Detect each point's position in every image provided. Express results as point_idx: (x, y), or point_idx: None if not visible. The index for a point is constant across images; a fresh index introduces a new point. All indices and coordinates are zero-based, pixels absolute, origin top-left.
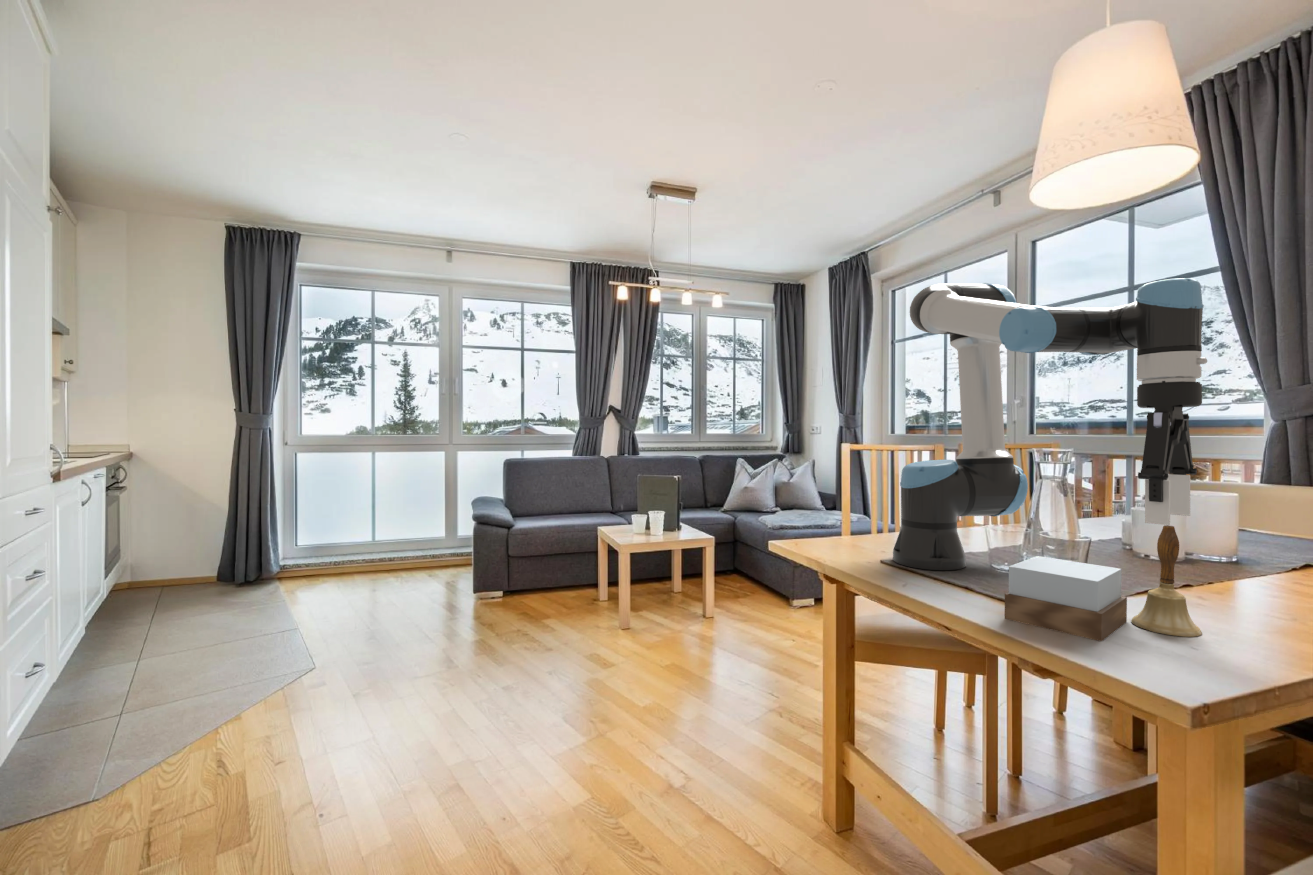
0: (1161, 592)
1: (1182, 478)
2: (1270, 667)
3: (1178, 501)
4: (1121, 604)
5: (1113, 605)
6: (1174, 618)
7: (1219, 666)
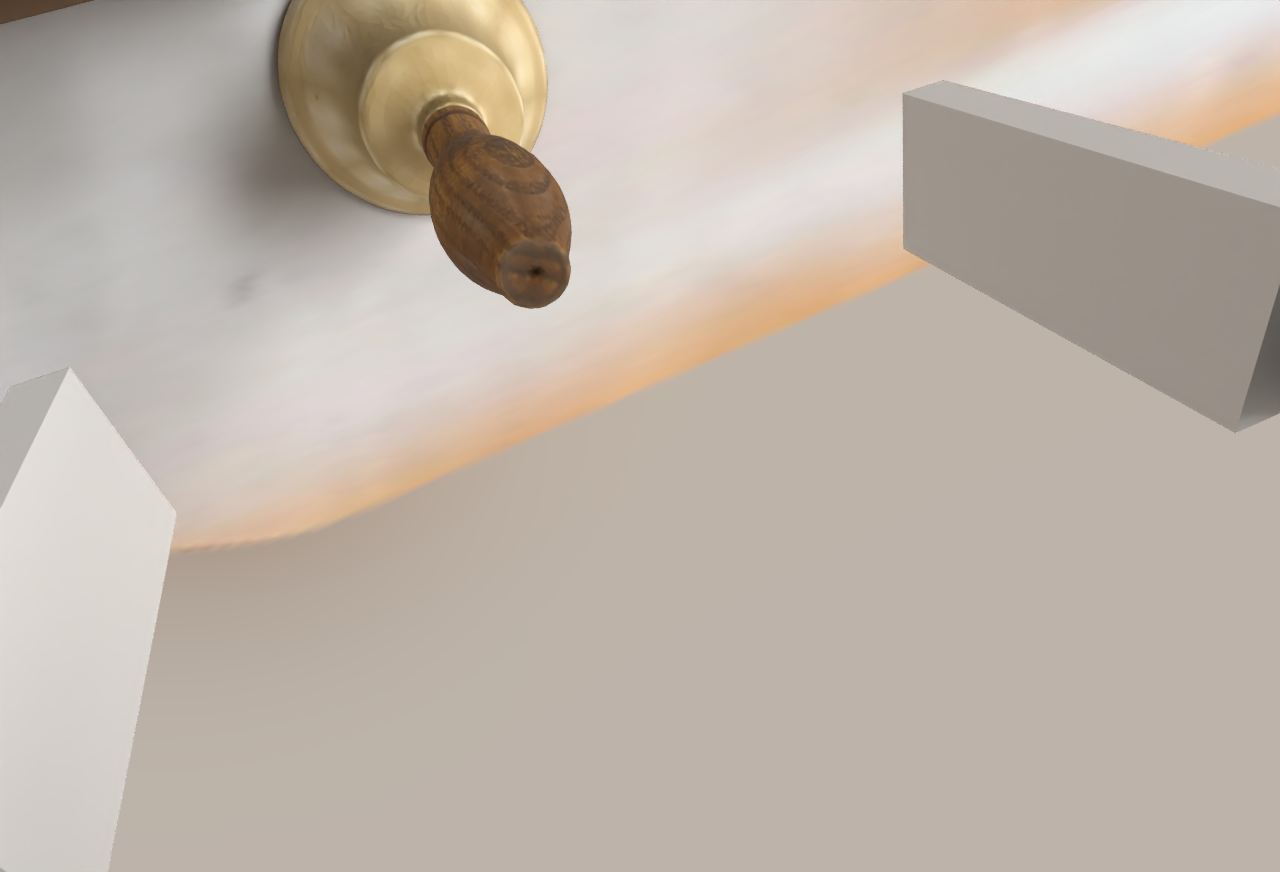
0: (391, 128)
1: (1208, 353)
2: (312, 468)
3: (989, 218)
4: None
5: (16, 16)
6: (370, 170)
7: (130, 425)
